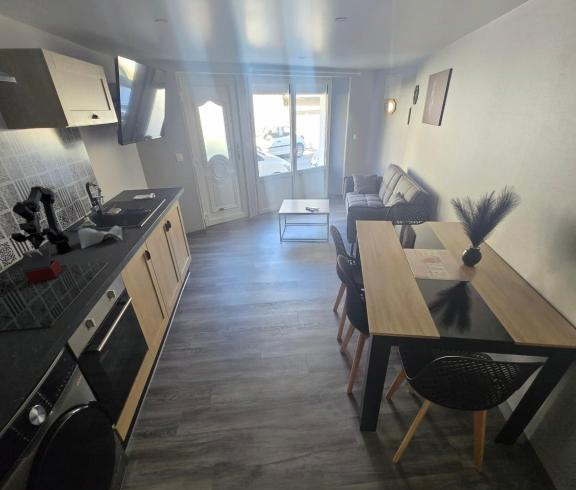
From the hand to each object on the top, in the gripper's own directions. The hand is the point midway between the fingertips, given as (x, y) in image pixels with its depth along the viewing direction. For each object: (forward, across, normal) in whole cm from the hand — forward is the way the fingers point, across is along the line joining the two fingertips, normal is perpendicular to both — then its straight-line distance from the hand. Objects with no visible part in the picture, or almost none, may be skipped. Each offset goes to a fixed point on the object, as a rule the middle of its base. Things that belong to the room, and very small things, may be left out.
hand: (36, 249), depth 157 cm
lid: (+7, 0, -1) cm, 7 cm away
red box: (+13, 0, +6) cm, 14 cm away
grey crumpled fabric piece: (-17, +22, +36) cm, 46 cm away
